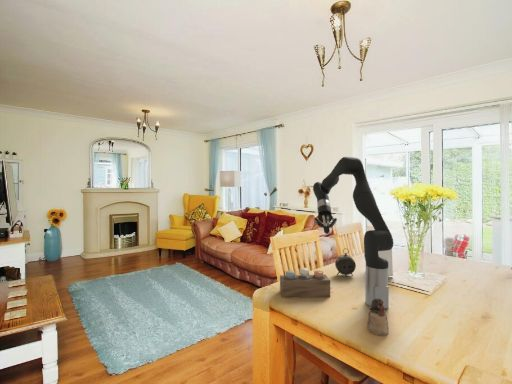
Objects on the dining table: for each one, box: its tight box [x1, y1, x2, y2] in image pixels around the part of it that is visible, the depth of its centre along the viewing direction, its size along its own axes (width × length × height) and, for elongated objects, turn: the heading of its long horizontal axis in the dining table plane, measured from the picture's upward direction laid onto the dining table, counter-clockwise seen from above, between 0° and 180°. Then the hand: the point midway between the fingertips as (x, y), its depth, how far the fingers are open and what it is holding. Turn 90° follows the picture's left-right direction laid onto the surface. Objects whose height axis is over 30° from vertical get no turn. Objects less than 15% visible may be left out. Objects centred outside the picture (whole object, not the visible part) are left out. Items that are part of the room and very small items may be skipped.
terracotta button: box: [313, 269, 324, 278], centre depth 133 cm, size 4×4×2 cm
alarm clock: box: [334, 247, 357, 278], centre depth 158 cm, size 11×5×16 cm, turn 84°
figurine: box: [366, 298, 389, 336], centre depth 99 cm, size 7×7×12 cm
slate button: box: [285, 270, 296, 279], centre depth 132 cm, size 4×4×2 cm
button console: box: [279, 274, 331, 298], centre depth 132 cm, size 8×23×8 cm, turn 93°
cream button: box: [299, 267, 310, 276], centre depth 132 cm, size 4×4×2 cm
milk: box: [378, 248, 394, 277], centre depth 161 cm, size 12×12×26 cm
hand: (327, 233), depth 147 cm, fingers closed
